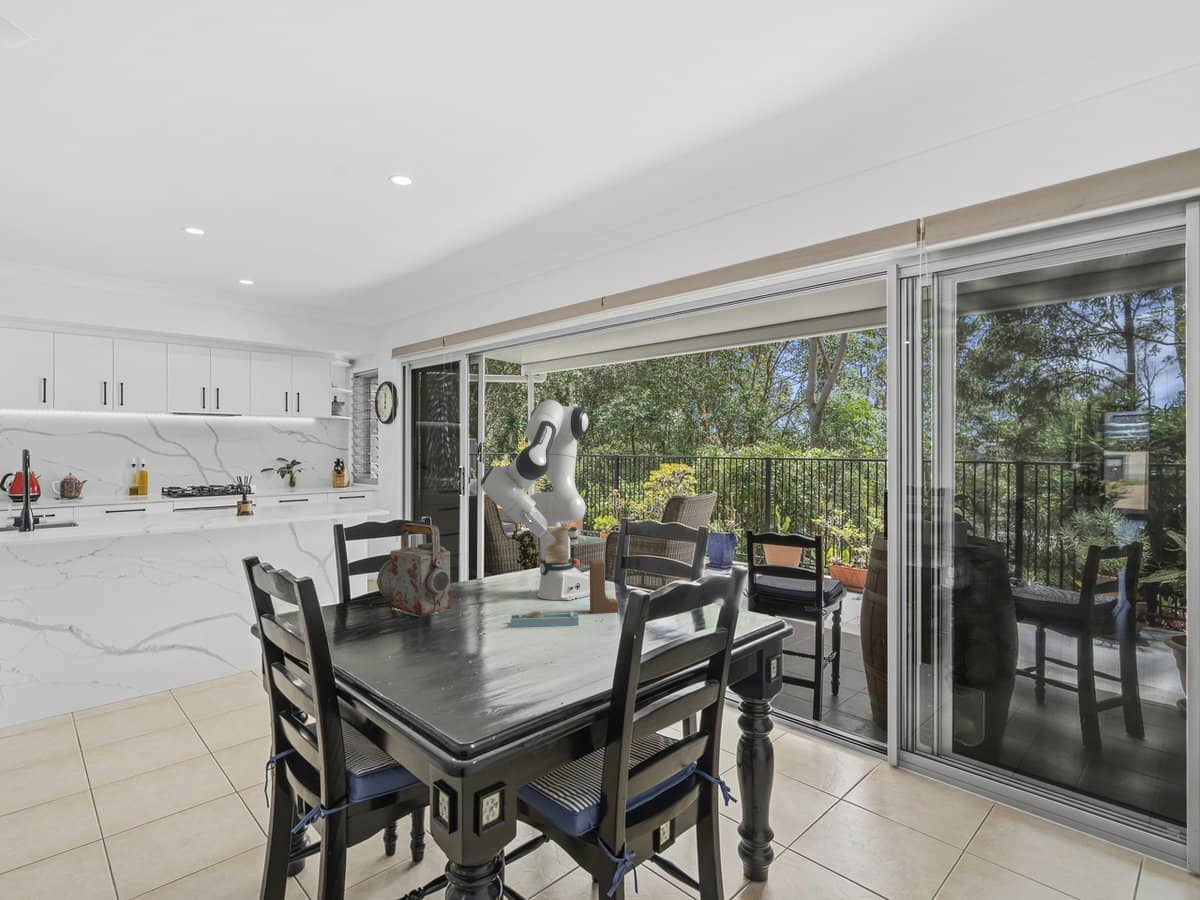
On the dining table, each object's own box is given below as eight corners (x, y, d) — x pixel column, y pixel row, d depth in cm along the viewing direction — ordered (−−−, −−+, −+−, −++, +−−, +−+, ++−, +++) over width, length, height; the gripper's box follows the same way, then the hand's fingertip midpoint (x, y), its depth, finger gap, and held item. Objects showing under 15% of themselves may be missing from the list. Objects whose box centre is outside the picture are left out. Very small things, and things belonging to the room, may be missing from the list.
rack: (508, 632, 195) (508, 619, 195) (510, 624, 204) (510, 611, 204) (580, 630, 196) (580, 617, 196) (579, 622, 205) (579, 609, 205)
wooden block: (615, 611, 217) (615, 559, 217) (618, 615, 213) (618, 561, 213) (589, 613, 216) (589, 560, 216) (592, 617, 211) (591, 562, 211)
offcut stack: (524, 625, 198) (523, 612, 198) (524, 623, 201) (524, 611, 201) (543, 625, 199) (543, 612, 199) (543, 623, 201) (543, 610, 201)
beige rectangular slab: (545, 563, 199) (545, 527, 198) (545, 561, 201) (545, 526, 201) (568, 562, 199) (568, 527, 199) (568, 561, 202) (567, 526, 201)
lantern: (413, 599, 237) (412, 519, 237) (459, 611, 220) (458, 524, 220) (374, 608, 225) (373, 523, 225) (420, 621, 208) (419, 529, 207)
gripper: (528, 505, 189) (561, 538, 190) (530, 499, 209) (560, 528, 210) (513, 521, 189) (547, 553, 189) (517, 513, 209) (547, 542, 210)
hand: (554, 540), depth 200 cm, fingers closed on beige rectangular slab, 2 cm apart
